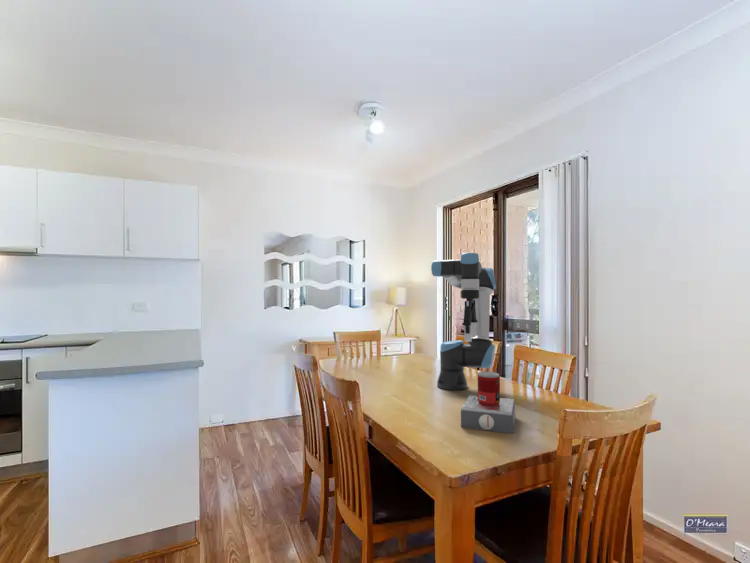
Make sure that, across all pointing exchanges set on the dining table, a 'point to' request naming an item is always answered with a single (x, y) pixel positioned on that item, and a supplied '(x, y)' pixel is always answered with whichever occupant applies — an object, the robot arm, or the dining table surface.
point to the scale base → (488, 421)
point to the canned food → (489, 388)
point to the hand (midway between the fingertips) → (470, 339)
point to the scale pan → (502, 408)
